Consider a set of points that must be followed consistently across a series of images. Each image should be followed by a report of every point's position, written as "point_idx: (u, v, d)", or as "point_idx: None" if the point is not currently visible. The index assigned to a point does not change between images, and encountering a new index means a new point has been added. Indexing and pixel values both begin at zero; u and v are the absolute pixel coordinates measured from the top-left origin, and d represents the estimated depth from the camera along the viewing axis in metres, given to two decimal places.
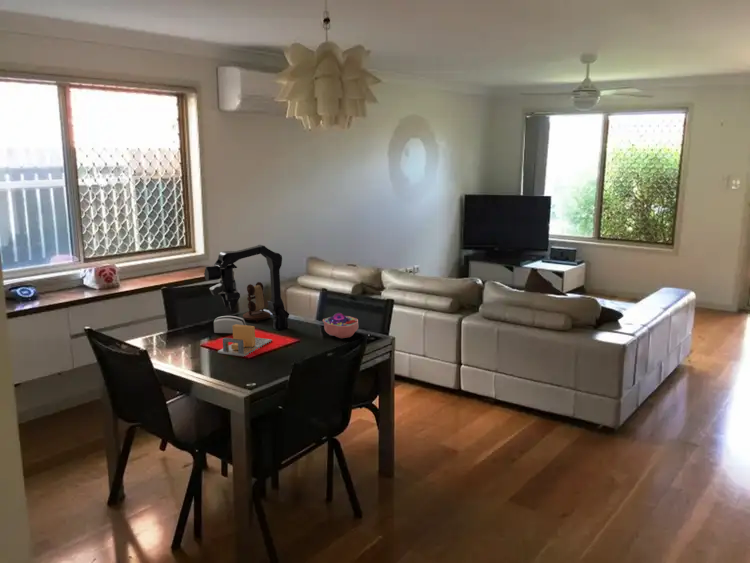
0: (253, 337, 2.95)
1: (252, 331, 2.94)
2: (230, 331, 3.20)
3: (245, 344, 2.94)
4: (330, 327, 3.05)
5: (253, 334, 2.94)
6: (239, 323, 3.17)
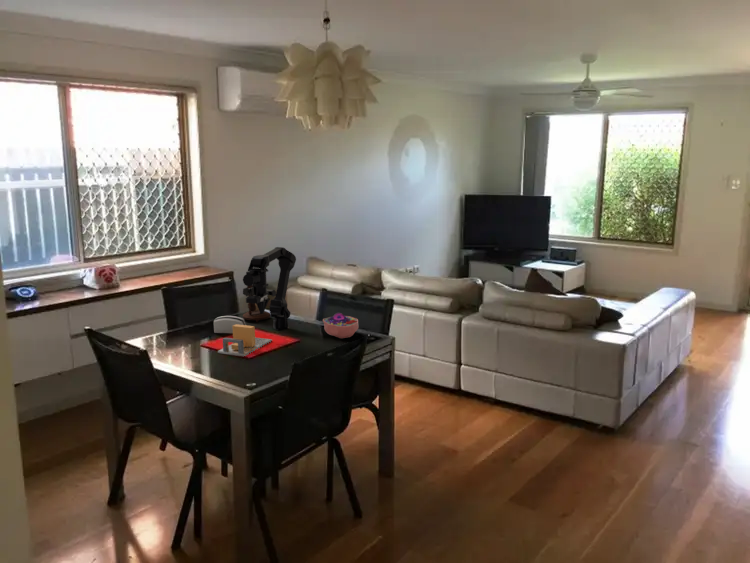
0: (253, 337, 2.95)
1: (252, 331, 2.94)
2: (230, 331, 3.20)
3: (245, 344, 2.94)
4: (330, 327, 3.05)
5: (253, 334, 2.94)
6: (239, 323, 3.17)
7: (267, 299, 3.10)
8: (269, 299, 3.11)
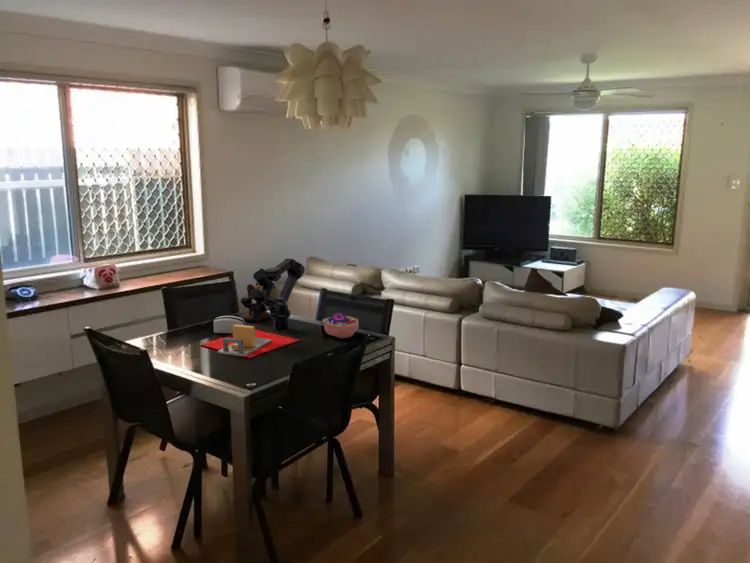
0: (253, 337, 2.95)
1: (252, 331, 2.94)
2: (230, 331, 3.20)
3: (245, 344, 2.94)
4: (330, 327, 3.05)
5: (253, 334, 2.94)
6: (239, 323, 3.17)
7: None
8: None
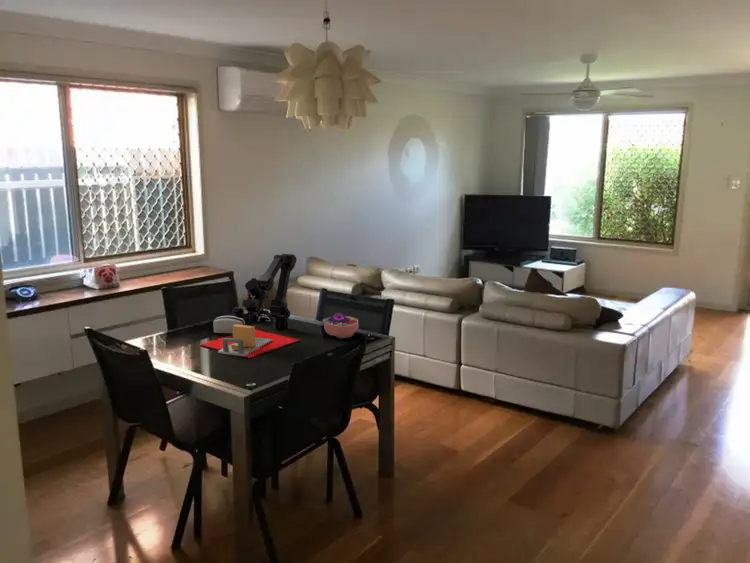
0: (253, 337, 2.95)
1: (252, 331, 2.94)
2: (230, 331, 3.20)
3: (245, 344, 2.94)
4: (330, 327, 3.06)
5: (253, 334, 2.94)
6: (238, 323, 3.17)
7: None
8: None
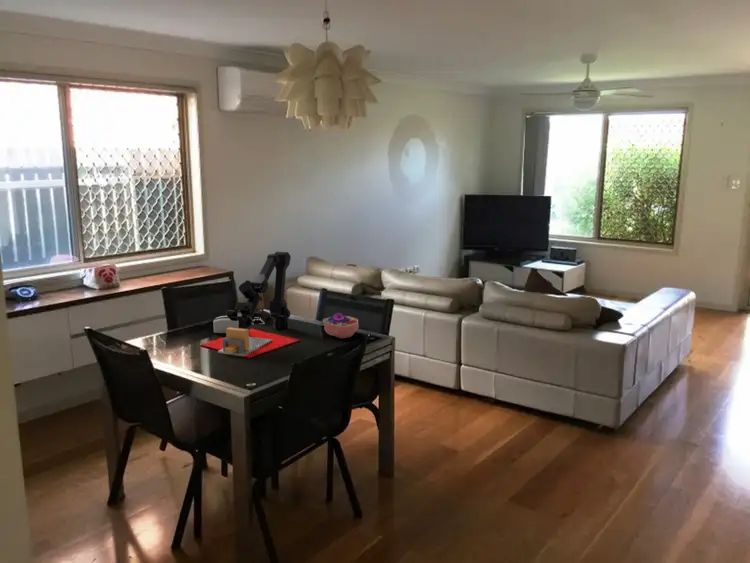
0: (247, 340, 2.90)
1: (246, 334, 2.89)
2: None
3: None
4: (330, 327, 3.05)
5: (247, 337, 2.90)
6: (238, 323, 3.17)
7: None
8: None
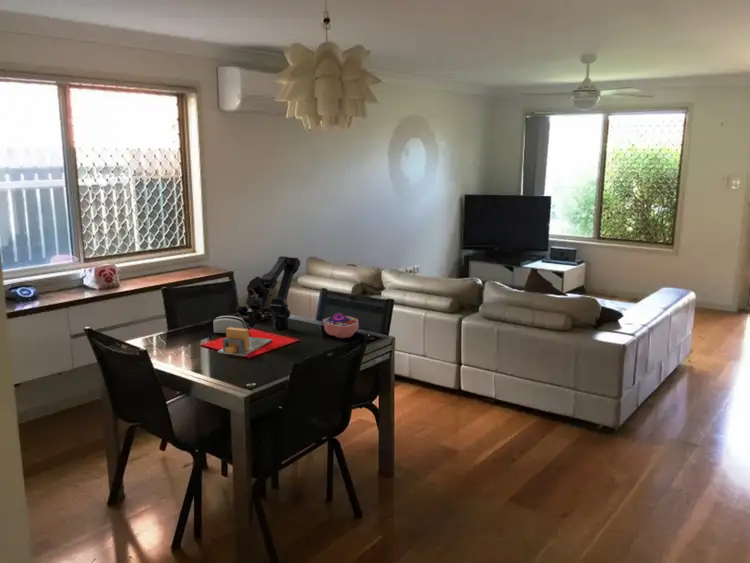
0: (247, 340, 2.90)
1: (246, 334, 2.89)
2: None
3: None
4: (330, 327, 3.05)
5: (247, 337, 2.90)
6: (238, 323, 3.17)
7: None
8: None
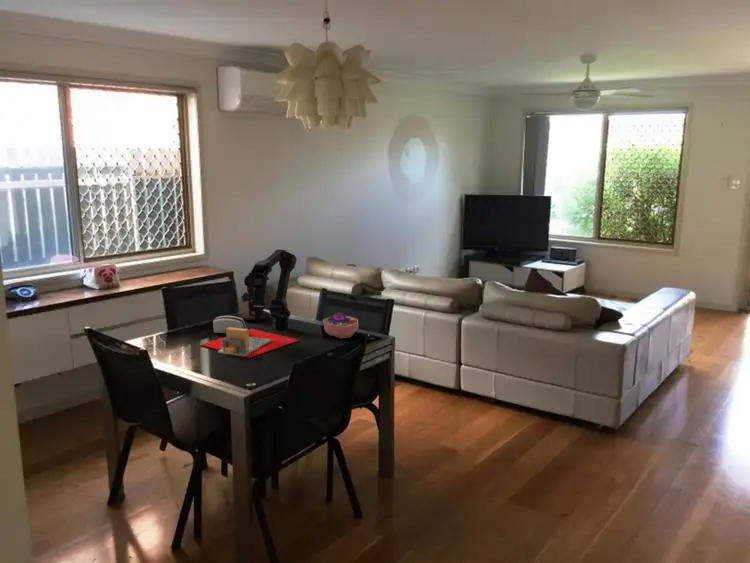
0: (247, 340, 2.90)
1: (246, 334, 2.89)
2: None
3: None
4: (330, 327, 3.06)
5: (247, 337, 2.90)
6: (238, 323, 3.17)
7: None
8: None
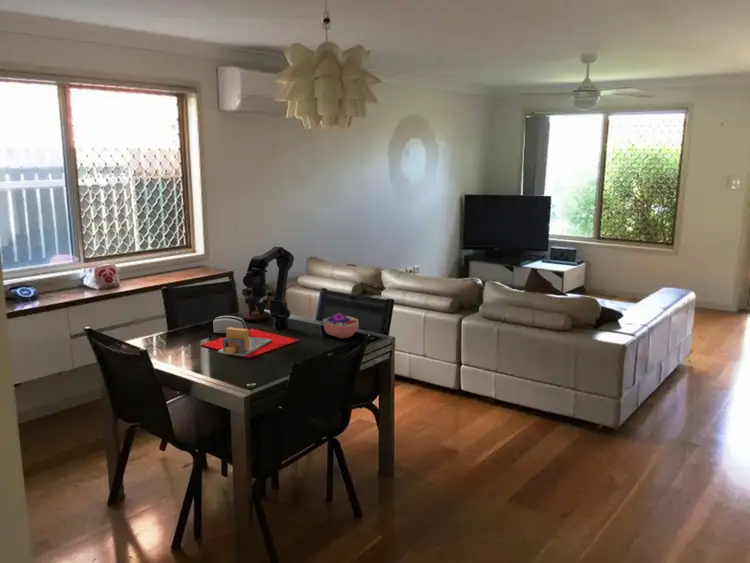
0: (247, 340, 2.90)
1: (246, 334, 2.89)
2: None
3: None
4: (330, 327, 3.06)
5: (247, 337, 2.90)
6: (238, 323, 3.17)
7: (266, 300, 3.08)
8: (268, 300, 3.09)
